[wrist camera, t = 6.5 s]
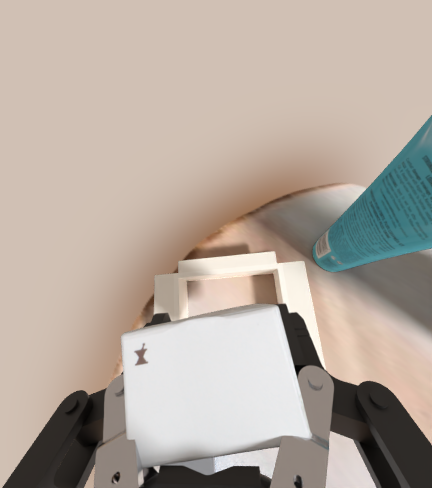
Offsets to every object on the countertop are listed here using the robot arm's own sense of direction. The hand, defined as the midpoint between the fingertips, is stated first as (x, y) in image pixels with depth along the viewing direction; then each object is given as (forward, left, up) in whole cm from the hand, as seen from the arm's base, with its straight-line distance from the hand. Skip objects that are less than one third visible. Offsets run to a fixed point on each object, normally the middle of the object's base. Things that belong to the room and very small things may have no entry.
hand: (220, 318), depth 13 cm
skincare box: (0, +2, -7) cm, 7 cm away
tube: (-14, -7, -16) cm, 22 cm away
